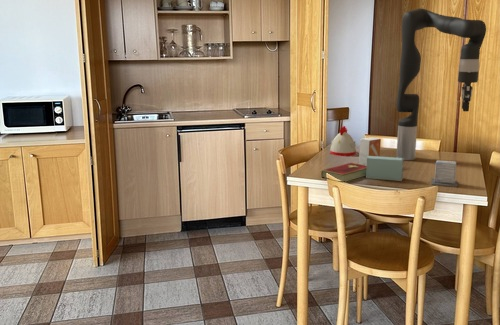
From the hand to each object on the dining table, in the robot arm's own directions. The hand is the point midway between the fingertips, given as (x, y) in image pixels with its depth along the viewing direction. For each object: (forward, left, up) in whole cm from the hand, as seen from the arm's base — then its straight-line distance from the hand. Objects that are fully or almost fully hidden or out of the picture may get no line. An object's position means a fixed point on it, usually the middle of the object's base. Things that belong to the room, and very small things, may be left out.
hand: (465, 110), depth 199 cm
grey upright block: (+8, -6, -30) cm, 31 cm away
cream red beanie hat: (-40, -57, -30) cm, 76 cm away
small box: (-17, -40, -30) cm, 53 cm away
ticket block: (+7, -31, -30) cm, 43 cm away
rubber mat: (+8, -6, -30) cm, 32 cm away
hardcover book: (+8, -47, -31) cm, 57 cm away
